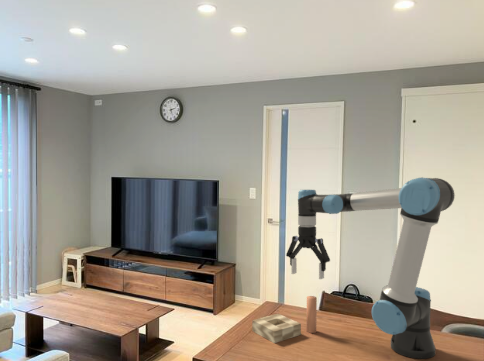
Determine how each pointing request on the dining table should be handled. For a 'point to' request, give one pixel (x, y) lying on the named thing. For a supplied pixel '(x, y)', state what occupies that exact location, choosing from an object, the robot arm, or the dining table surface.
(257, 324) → the socket block
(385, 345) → the dining table surface
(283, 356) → the dining table surface
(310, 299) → the peg
